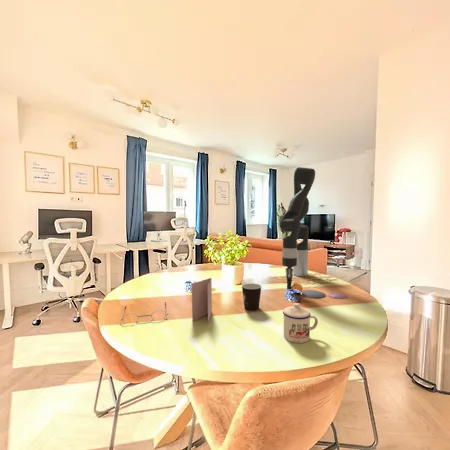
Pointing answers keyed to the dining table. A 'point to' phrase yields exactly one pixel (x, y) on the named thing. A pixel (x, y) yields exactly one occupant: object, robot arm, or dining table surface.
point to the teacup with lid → (297, 324)
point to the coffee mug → (251, 296)
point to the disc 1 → (313, 294)
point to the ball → (297, 286)
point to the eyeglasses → (143, 315)
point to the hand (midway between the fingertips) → (289, 289)
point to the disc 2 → (337, 295)
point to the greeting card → (202, 299)
